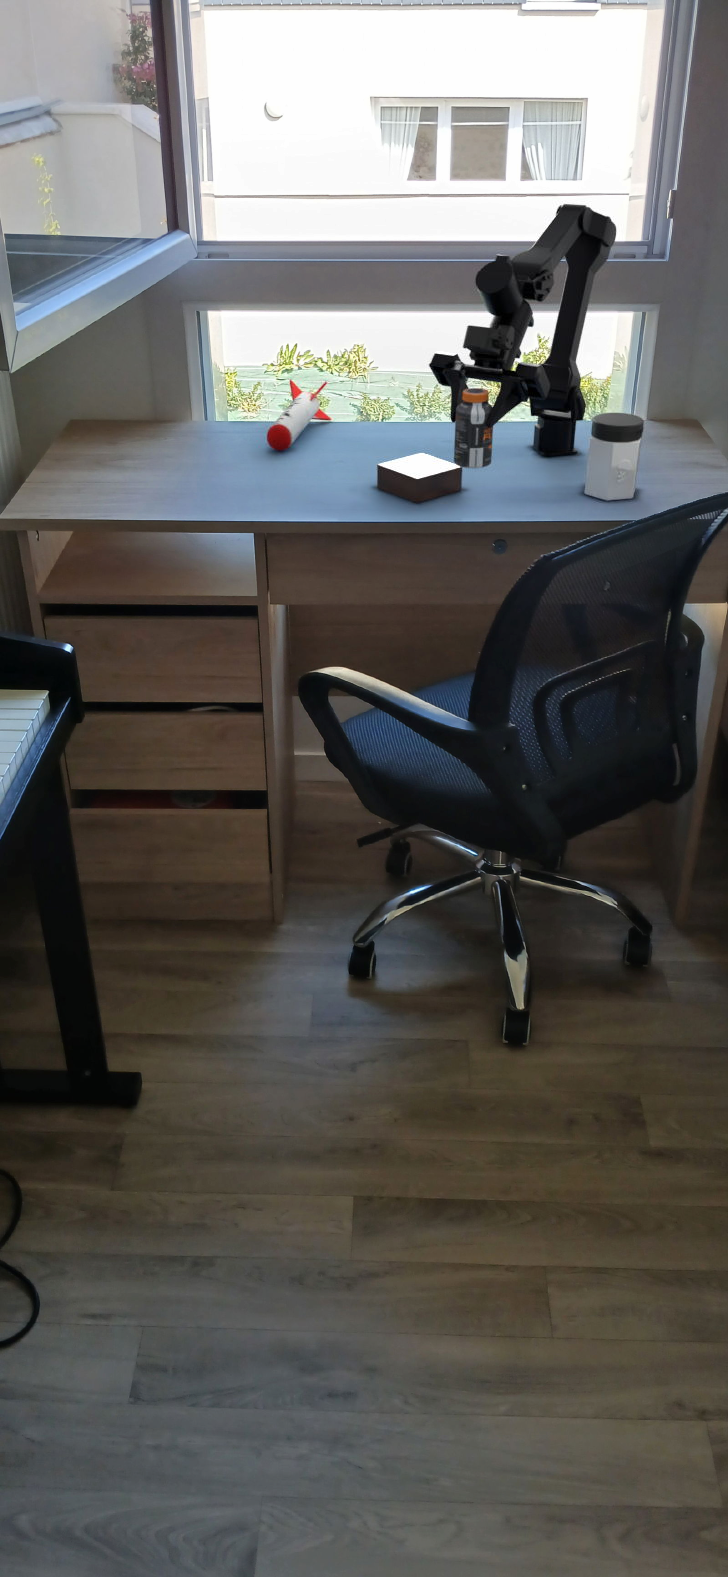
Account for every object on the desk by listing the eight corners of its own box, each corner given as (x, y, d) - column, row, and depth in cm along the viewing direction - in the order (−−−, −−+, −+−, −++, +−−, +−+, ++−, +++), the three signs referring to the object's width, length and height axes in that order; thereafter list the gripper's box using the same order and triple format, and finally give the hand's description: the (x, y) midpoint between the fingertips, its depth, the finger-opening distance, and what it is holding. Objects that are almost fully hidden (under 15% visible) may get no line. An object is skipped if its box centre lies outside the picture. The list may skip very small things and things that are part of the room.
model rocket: (237, 439, 210) (270, 400, 204) (274, 397, 228) (305, 361, 222) (281, 480, 212) (315, 444, 207) (315, 436, 230) (347, 401, 225)
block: (421, 475, 198) (422, 452, 196) (461, 489, 192) (462, 466, 190) (377, 487, 193) (377, 464, 191) (416, 503, 187) (417, 478, 185)
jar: (594, 502, 186) (602, 427, 180) (575, 486, 193) (582, 413, 187) (645, 498, 188) (655, 423, 182) (625, 482, 195) (633, 410, 188)
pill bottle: (488, 470, 179) (492, 396, 173) (451, 468, 181) (453, 394, 174) (493, 458, 184) (497, 385, 178) (456, 456, 185) (459, 384, 179)
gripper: (436, 296, 176) (399, 386, 175) (548, 307, 168) (511, 402, 167) (457, 339, 186) (423, 425, 185) (565, 352, 178) (530, 442, 177)
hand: (470, 423), depth 178 cm, fingers closed on pill bottle, 6 cm apart
